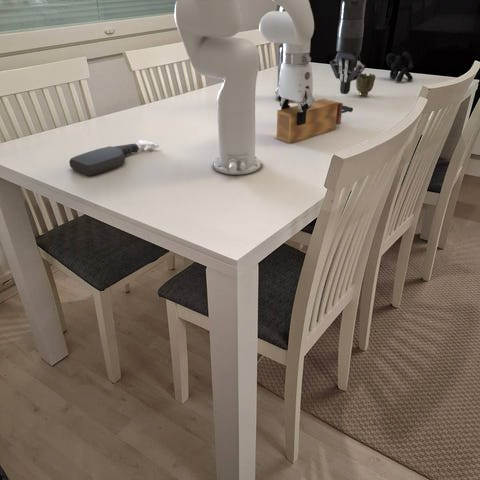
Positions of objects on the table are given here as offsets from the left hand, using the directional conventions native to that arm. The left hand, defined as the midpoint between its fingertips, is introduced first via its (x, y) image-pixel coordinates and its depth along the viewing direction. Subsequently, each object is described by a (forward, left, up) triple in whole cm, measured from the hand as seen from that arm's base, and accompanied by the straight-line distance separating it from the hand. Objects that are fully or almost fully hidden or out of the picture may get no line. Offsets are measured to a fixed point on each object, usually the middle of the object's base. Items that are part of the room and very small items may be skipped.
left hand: (293, 121), depth 135 cm
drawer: (+8, -10, -4) cm, 14 cm away
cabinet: (+4, -5, -5) cm, 8 cm away
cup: (+47, -34, -5) cm, 58 cm away
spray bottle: (-14, +51, -5) cm, 53 cm away
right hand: (+13, -18, +5) cm, 23 cm away
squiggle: (+73, -58, -5) cm, 93 cm away
